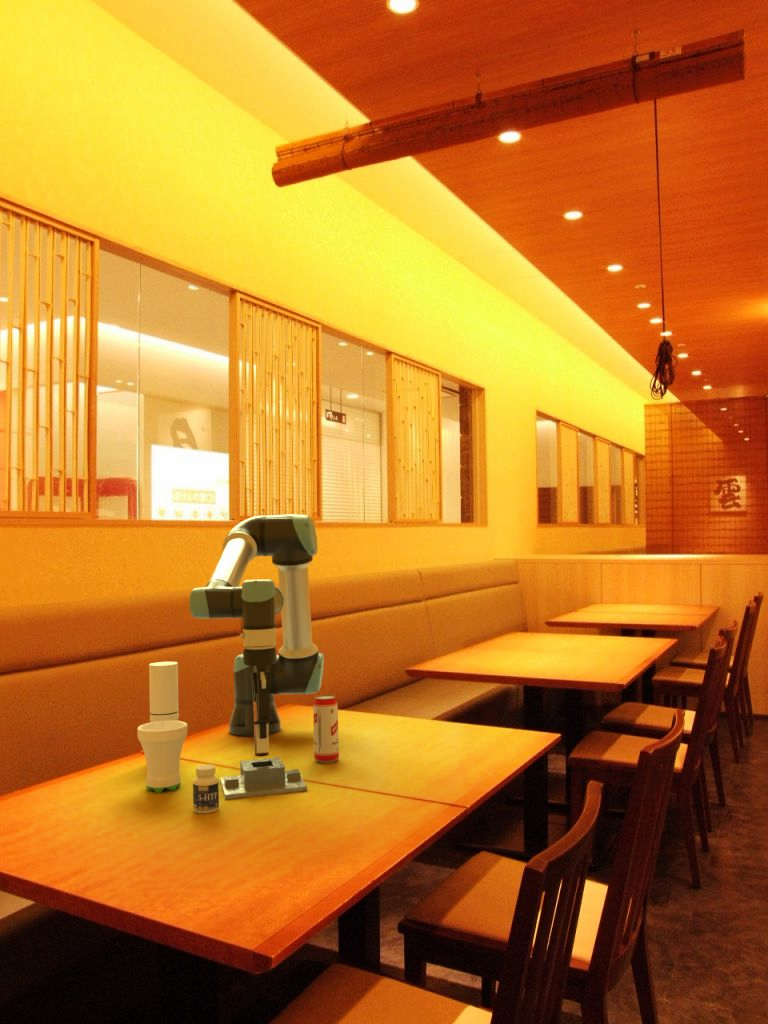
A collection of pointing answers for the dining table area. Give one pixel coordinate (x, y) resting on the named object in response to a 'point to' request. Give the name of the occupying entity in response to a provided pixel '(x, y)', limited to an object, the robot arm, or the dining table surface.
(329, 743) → the beer can
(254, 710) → the rounded pin
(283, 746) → the dining table surface
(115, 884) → the dining table surface
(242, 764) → the grey socket base
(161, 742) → the cup
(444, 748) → the dining table surface
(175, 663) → the cylindrical container
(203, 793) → the pill bottle
